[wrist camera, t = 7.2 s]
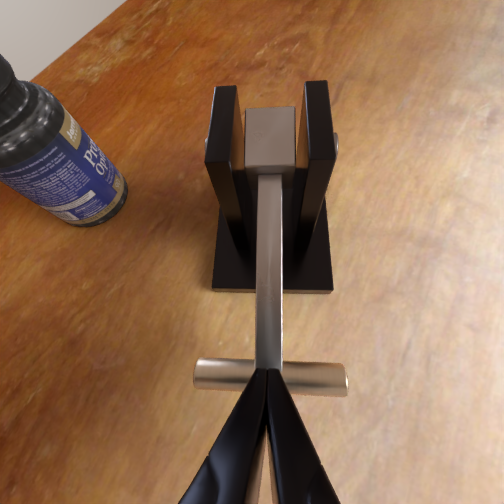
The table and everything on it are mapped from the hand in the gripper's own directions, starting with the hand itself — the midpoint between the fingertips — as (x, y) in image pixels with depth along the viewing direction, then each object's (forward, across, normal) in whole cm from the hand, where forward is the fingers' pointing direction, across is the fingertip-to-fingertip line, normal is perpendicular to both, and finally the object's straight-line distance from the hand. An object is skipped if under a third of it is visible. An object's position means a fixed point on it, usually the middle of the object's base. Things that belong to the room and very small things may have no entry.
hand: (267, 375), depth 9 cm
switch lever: (+4, 0, -3) cm, 5 cm away
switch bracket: (+12, 0, -2) cm, 12 cm away
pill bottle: (+14, +15, -4) cm, 21 cm away
